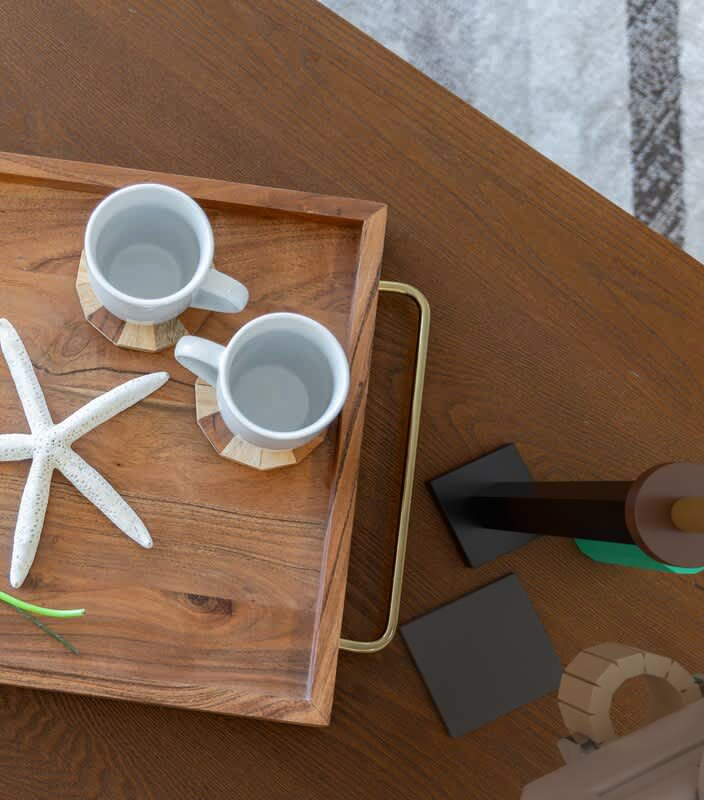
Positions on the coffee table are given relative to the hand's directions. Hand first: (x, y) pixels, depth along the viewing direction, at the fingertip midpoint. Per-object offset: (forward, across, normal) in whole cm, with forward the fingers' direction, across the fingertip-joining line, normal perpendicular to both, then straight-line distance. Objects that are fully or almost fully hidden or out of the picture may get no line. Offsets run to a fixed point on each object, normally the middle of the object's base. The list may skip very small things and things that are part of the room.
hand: (631, 718), depth 53 cm
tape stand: (+21, +6, +11) cm, 24 cm away
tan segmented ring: (+1, 0, +1) cm, 2 cm away
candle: (+21, +14, +5) cm, 26 cm away
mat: (+21, 0, 0) cm, 21 cm away
